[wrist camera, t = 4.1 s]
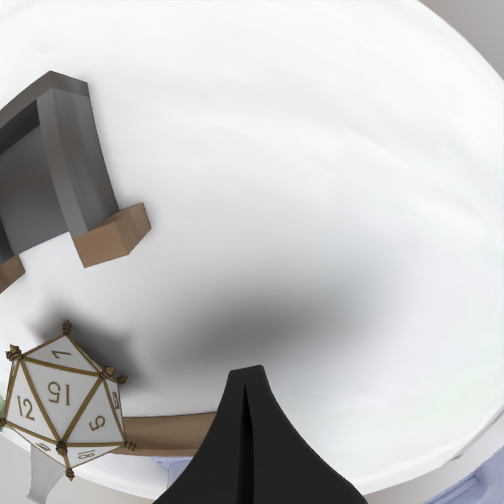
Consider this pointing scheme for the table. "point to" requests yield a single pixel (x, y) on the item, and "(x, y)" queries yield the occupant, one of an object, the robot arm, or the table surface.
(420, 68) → the table surface
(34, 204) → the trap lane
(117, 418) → the game die
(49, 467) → the flask
